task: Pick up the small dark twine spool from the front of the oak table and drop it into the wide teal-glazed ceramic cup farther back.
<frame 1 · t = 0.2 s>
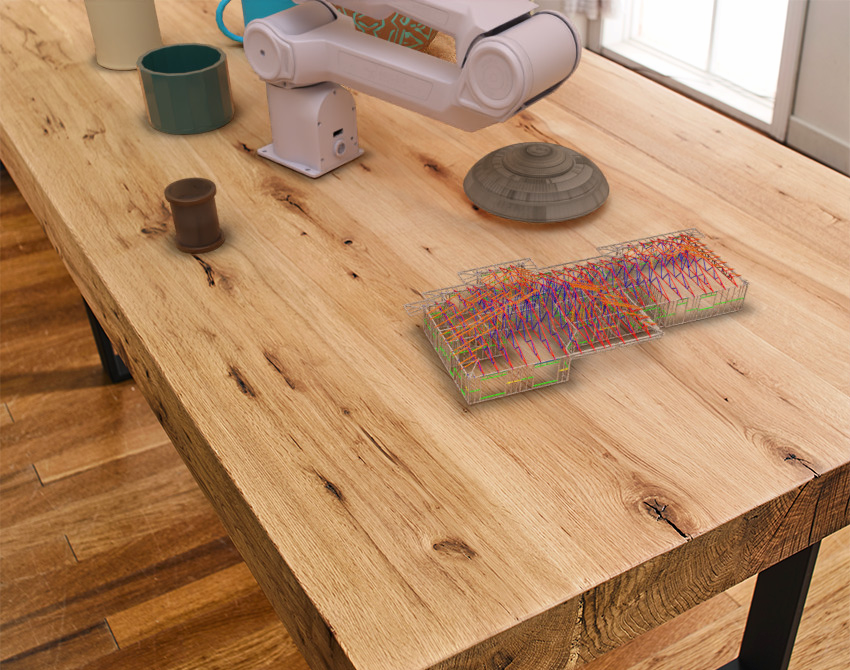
roof frame: (583, 321, 80), on the table
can: (132, 59, 127), on the table
spool: (200, 240, 90), on the table
cup: (192, 116, 112), on the table
decorative sphere: (389, 61, 126), on the table
mug: (262, 45, 131), on the table
flying saucer: (534, 199, 96), on the table
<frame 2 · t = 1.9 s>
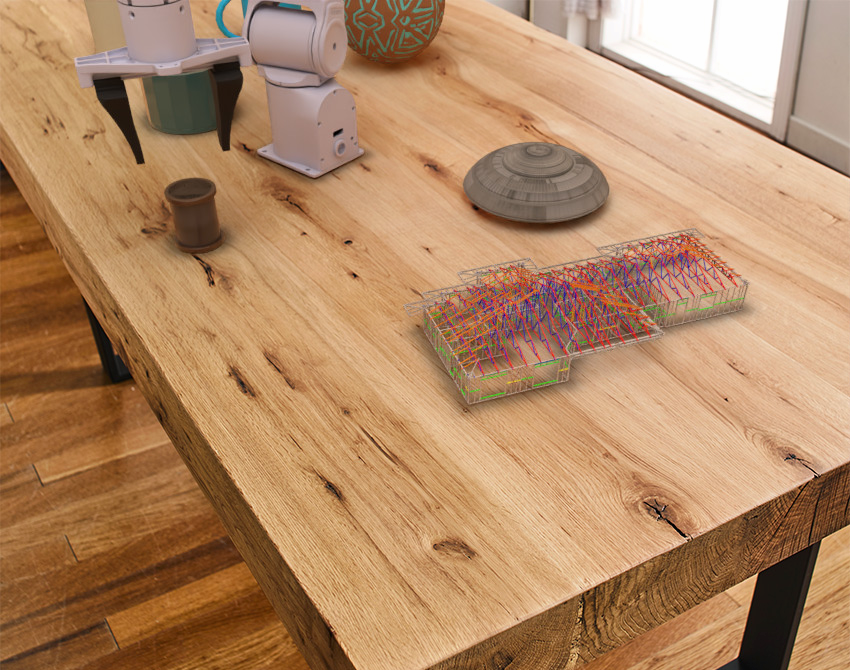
hand: (182, 153, 84), 9 cm above the table, tool pointing down, fingers open, 7 cm apart
nothing on the table moved.
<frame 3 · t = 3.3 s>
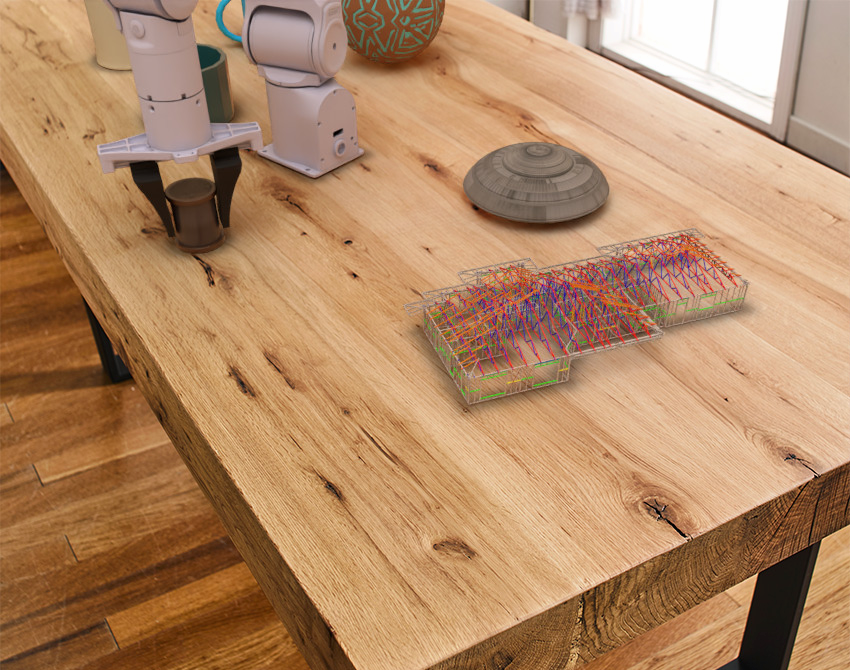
hand: (197, 227, 89), 1 cm above the table, tool pointing down, fingers closed on spool, 4 cm apart
spool: (200, 240, 90), on the table, touching gripper
everything else where it was.
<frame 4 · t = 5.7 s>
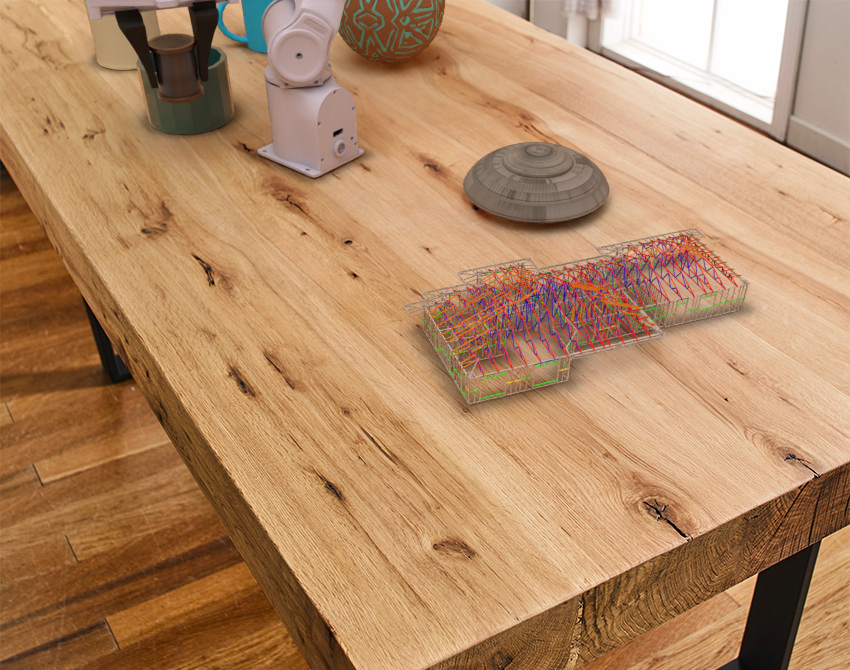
hand: (178, 81, 97), 9 cm above the table, tool pointing down, fingers closed on spool, 4 cm apart
spool: (181, 94, 98), point 8 cm above the table, touching gripper
everything else where it was.
when the fingers open (6 cm above the table, at t = 8.4 s): spool drops 4 cm, resting on cup.
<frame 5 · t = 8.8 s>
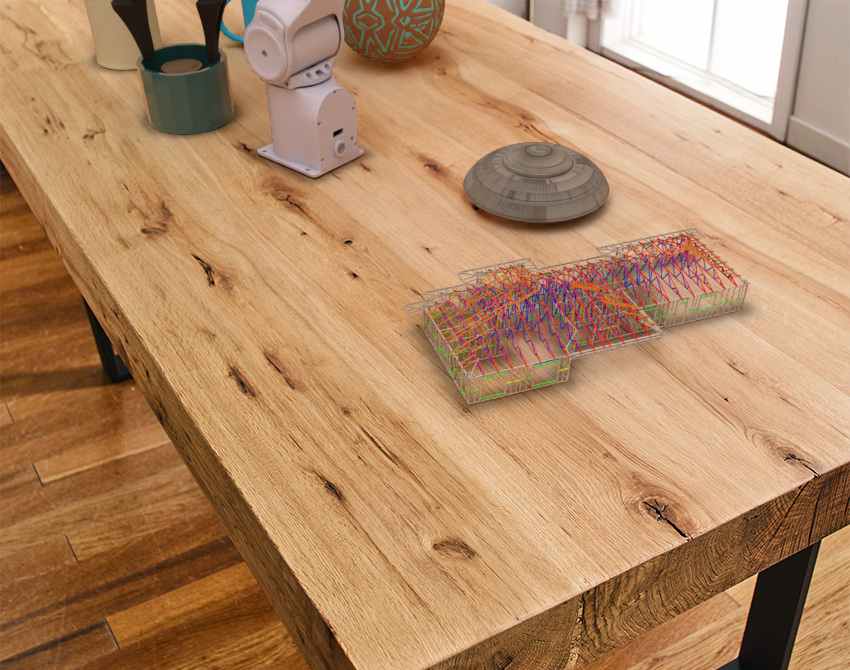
hand: (181, 59, 108), 7 cm above the table, tool pointing down, fingers open, 7 cm apart
spool: (189, 111, 112), point 1 cm above the table, touching cup
everything else where it was.
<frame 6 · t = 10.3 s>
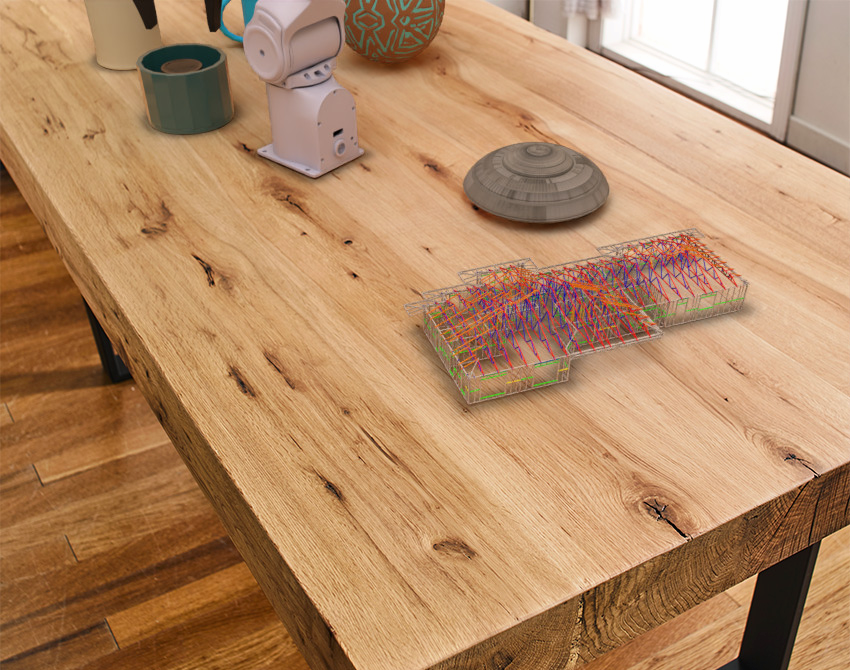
hand: (183, 28, 107), 10 cm above the table, tool pointing down, fingers open, 7 cm apart
nothing on the table moved.
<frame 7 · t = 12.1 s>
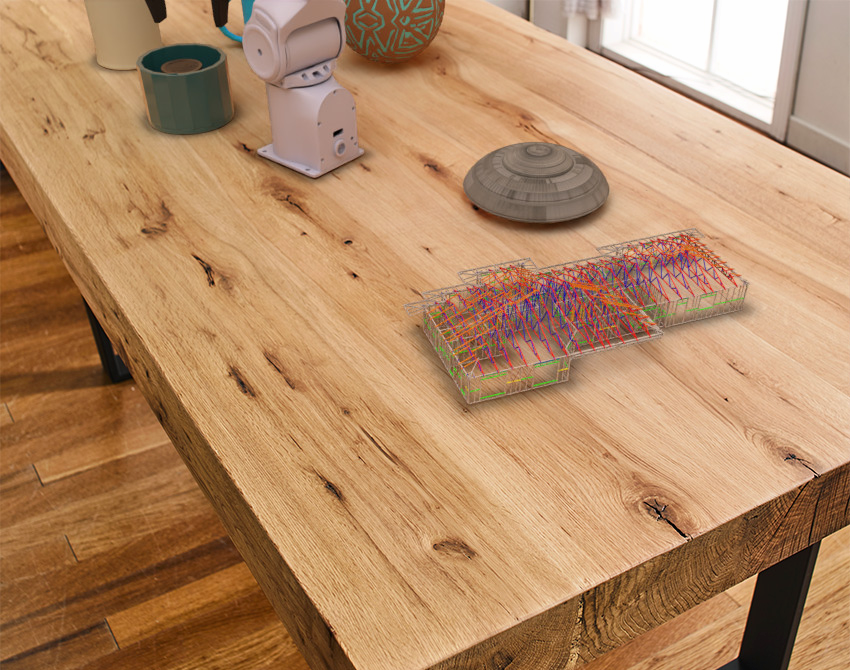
hand: (191, 22, 107), 10 cm above the table, tool pointing down, fingers open, 7 cm apart
nothing on the table moved.
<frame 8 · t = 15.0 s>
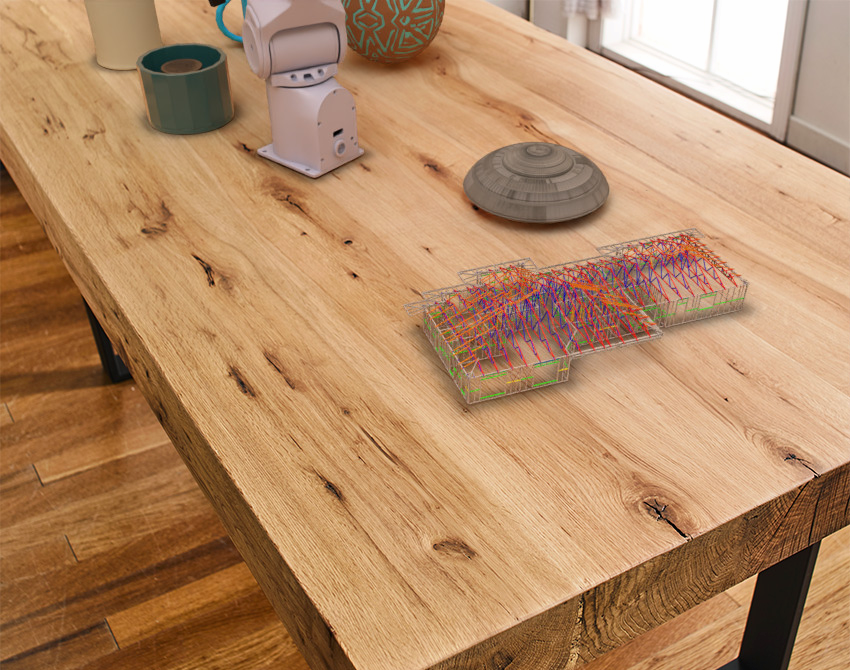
hand: (242, 10, 110), 10 cm above the table, tool pointing down, fingers open, 7 cm apart
nothing on the table moved.
at the end: spool 0.1 cm off-centre in the cup, point 0.6 cm above the cup's base; the gripper is holding nothing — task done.
